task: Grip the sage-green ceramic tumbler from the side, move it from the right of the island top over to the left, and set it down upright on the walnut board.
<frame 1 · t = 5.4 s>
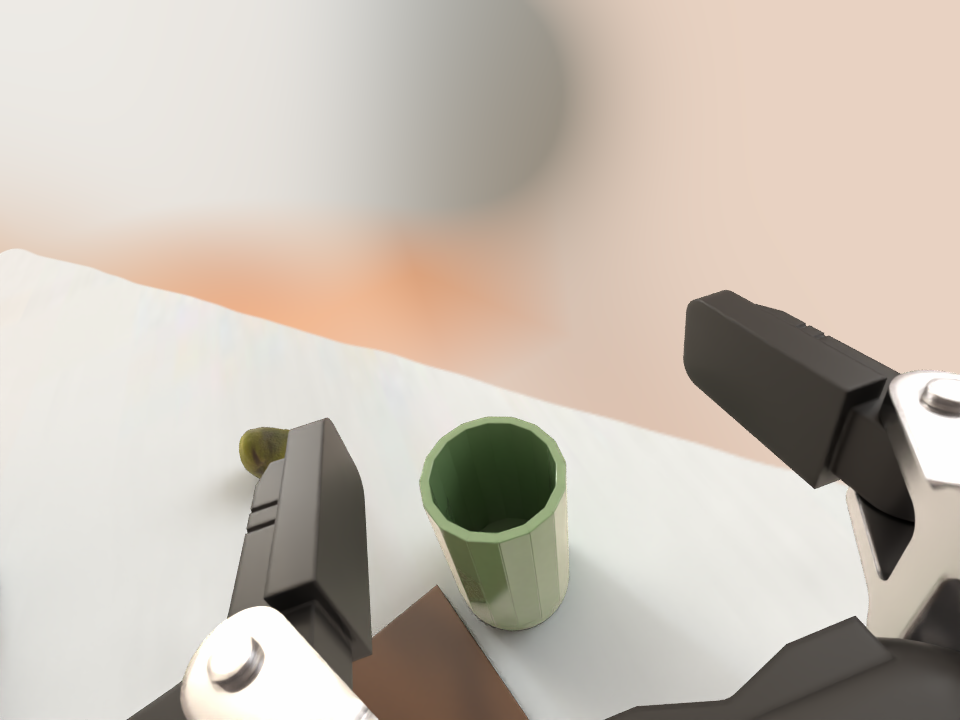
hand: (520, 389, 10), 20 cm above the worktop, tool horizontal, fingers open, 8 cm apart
lime: (292, 470, 35), on the worktop
tumbler: (513, 569, 27), on the worktop
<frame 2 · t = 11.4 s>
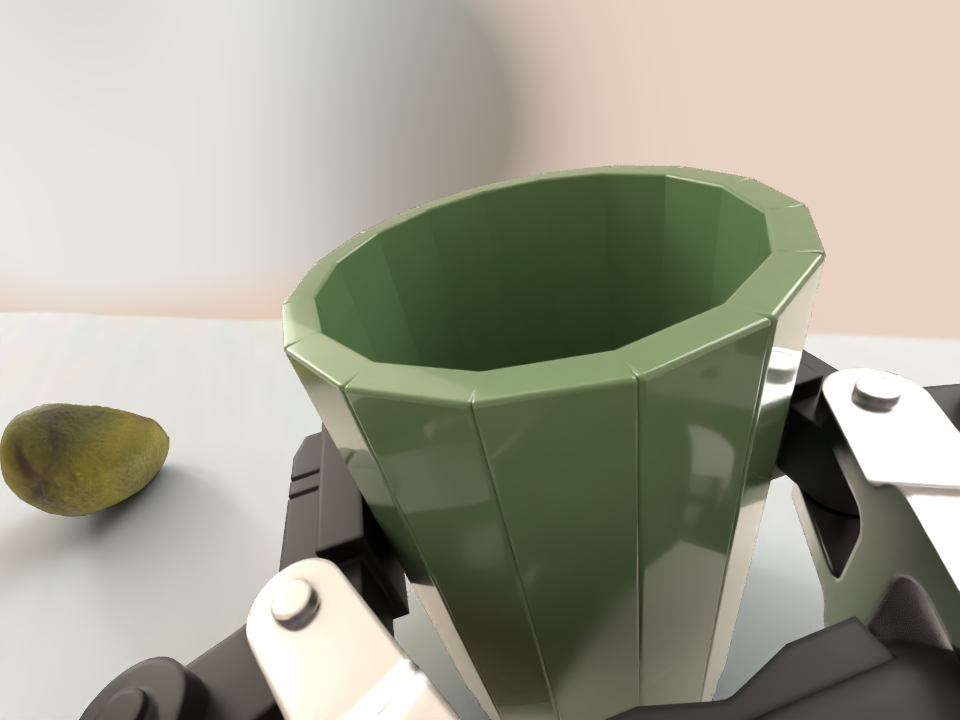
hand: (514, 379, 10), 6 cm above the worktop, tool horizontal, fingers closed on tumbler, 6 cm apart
lime: (132, 496, 19), on the worktop
tumbler: (579, 608, 12), on the worktop, touching gripper
when the fingers open (7 cm above the worktop, at t = 19.3 s): tumbler stays where it is, resting on board.
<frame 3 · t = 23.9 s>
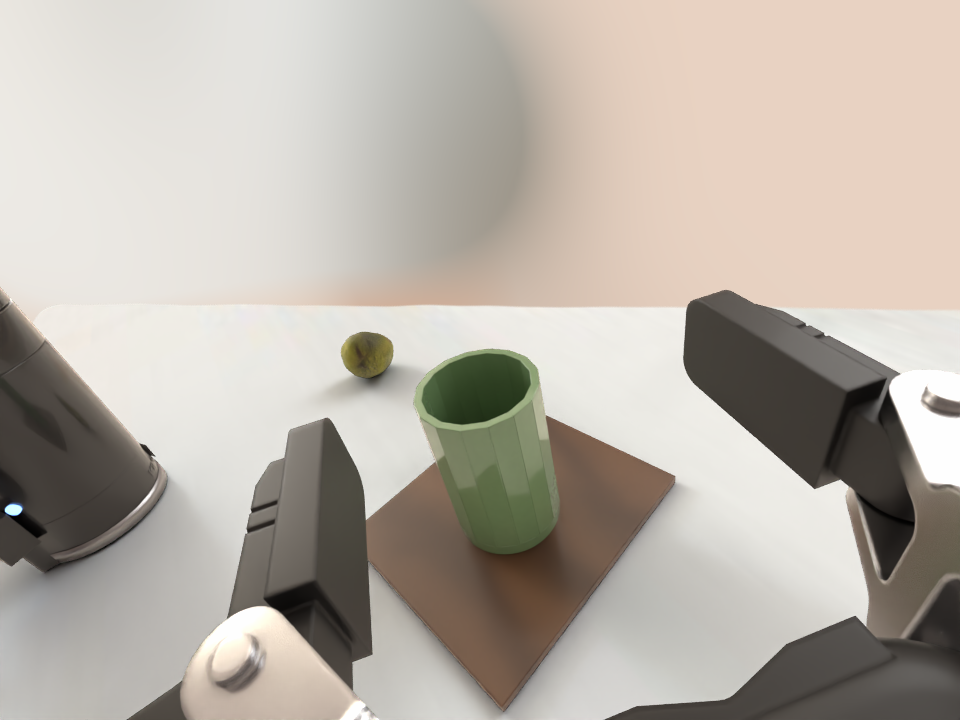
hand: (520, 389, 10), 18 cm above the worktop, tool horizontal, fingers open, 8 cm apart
lime: (377, 375, 46), on the worktop
tumbler: (508, 507, 29), point 1 cm above the worktop, touching board
board: (509, 512, 29), on the worktop
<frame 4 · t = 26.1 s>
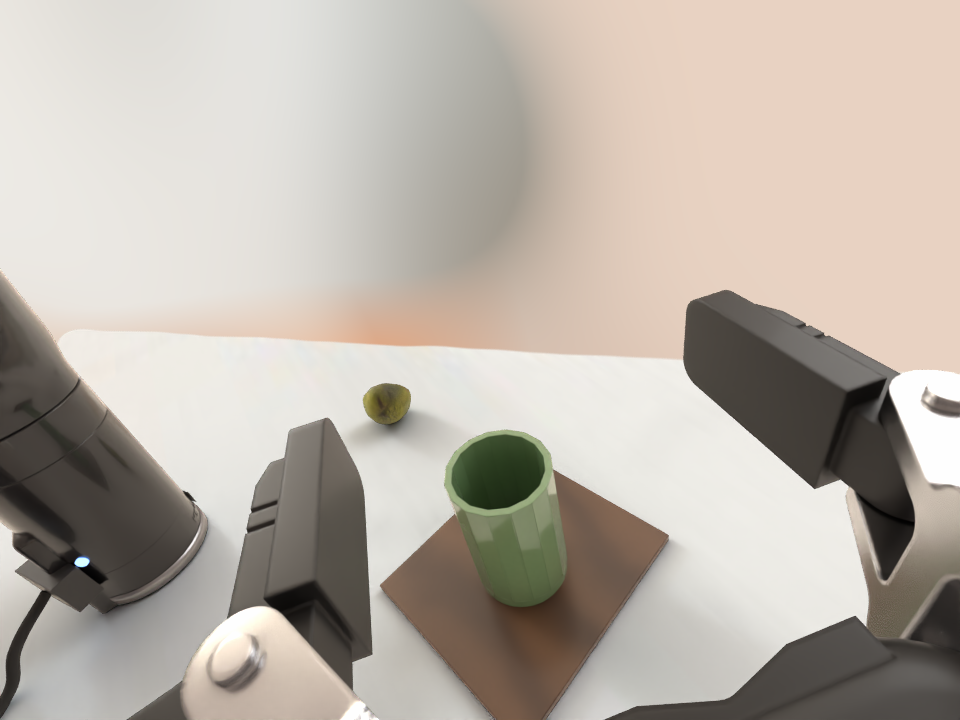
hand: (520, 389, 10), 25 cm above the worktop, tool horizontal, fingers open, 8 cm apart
lime: (395, 420, 50), on the worktop
tumbler: (522, 561, 33), point 1 cm above the worktop, touching board
board: (522, 565, 33), on the worktop
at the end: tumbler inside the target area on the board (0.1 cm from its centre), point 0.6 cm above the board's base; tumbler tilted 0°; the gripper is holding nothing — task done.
